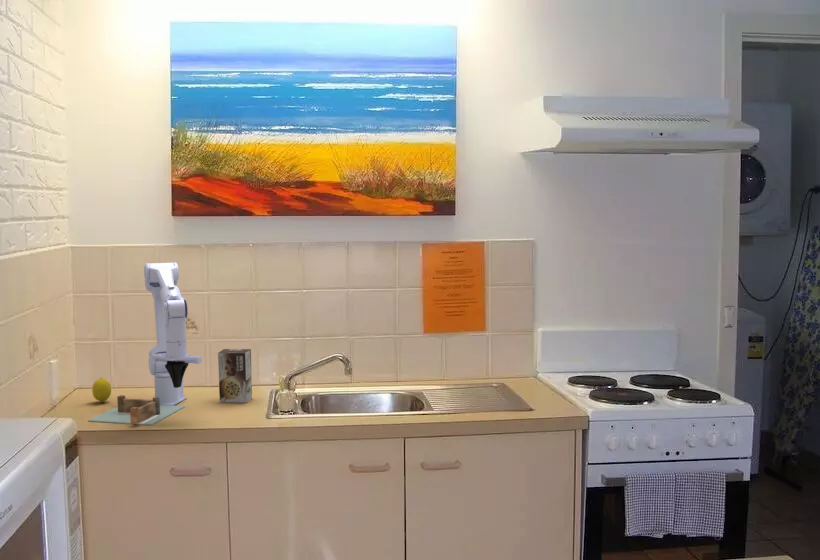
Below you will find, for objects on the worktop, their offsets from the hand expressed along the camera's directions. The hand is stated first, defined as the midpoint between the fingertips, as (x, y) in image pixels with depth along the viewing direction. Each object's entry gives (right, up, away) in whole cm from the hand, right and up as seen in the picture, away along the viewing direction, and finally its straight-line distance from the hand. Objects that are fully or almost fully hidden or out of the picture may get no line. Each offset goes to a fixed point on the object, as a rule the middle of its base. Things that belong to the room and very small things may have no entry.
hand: (177, 386), depth 234 cm
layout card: (-13, -9, +6) cm, 17 cm away
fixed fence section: (-13, -9, +5) cm, 17 cm away
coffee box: (+12, -7, +22) cm, 26 cm away
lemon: (-29, -8, +19) cm, 35 cm away
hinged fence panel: (-9, -9, -2) cm, 13 cm away
